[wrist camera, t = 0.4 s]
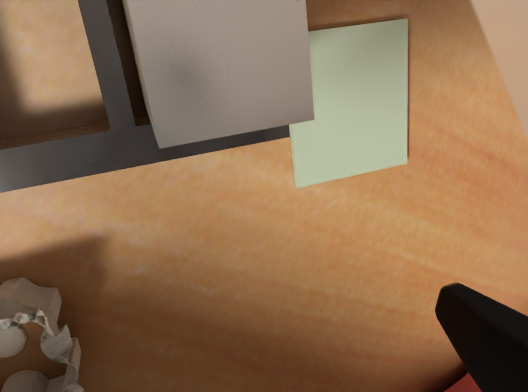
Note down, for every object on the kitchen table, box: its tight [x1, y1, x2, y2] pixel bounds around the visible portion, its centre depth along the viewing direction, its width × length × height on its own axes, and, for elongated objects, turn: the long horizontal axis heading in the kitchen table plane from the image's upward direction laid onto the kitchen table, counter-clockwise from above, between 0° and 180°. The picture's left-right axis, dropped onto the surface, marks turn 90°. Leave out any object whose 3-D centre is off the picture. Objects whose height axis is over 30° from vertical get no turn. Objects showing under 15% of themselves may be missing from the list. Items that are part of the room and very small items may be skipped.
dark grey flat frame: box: [0, 0, 290, 193], centre depth 18 cm, size 9×15×2 cm, turn 97°
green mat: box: [289, 19, 408, 188], centre depth 23 cm, size 8×7×1 cm
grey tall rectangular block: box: [122, 0, 315, 149], centre depth 15 cm, size 4×4×10 cm
